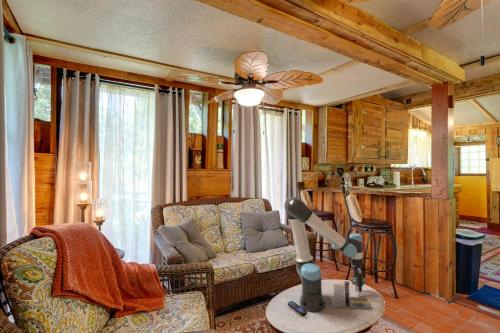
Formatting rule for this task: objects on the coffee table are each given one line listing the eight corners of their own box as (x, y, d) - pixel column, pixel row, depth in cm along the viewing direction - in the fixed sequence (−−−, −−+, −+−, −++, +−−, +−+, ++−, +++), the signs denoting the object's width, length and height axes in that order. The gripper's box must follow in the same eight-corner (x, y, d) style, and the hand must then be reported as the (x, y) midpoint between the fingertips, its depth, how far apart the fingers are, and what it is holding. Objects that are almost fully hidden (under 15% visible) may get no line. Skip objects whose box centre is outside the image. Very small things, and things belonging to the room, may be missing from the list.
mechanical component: (367, 294, 175) (366, 278, 175) (351, 294, 175) (350, 279, 176) (365, 292, 178) (364, 276, 178) (349, 292, 178) (349, 277, 179)
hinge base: (333, 307, 160) (332, 286, 160) (330, 298, 172) (329, 278, 172) (371, 309, 157) (370, 287, 157) (365, 299, 169) (364, 278, 169)
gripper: (367, 263, 167) (369, 300, 166) (358, 253, 187) (360, 286, 186) (354, 263, 168) (356, 300, 167) (347, 253, 188) (349, 286, 187)
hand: (358, 292), depth 177 cm, fingers open, 7 cm apart
